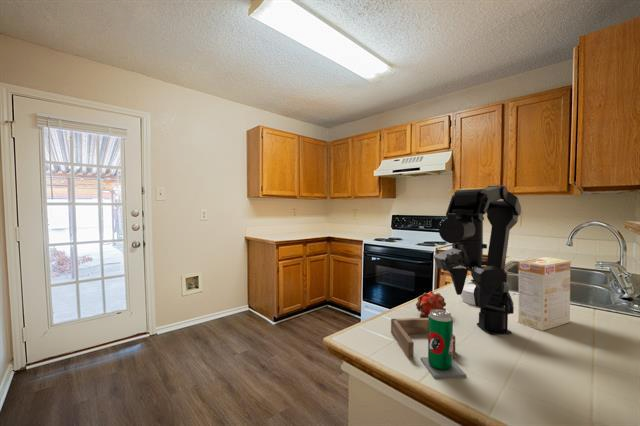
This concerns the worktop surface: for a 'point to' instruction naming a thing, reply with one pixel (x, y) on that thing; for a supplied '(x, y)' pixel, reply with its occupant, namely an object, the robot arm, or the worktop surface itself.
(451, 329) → the soda can
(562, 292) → the coffeecake box
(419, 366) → the worktop surface
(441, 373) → the slate coaster
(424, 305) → the dragon fruit
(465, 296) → the ramekin
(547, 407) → the worktop surface
